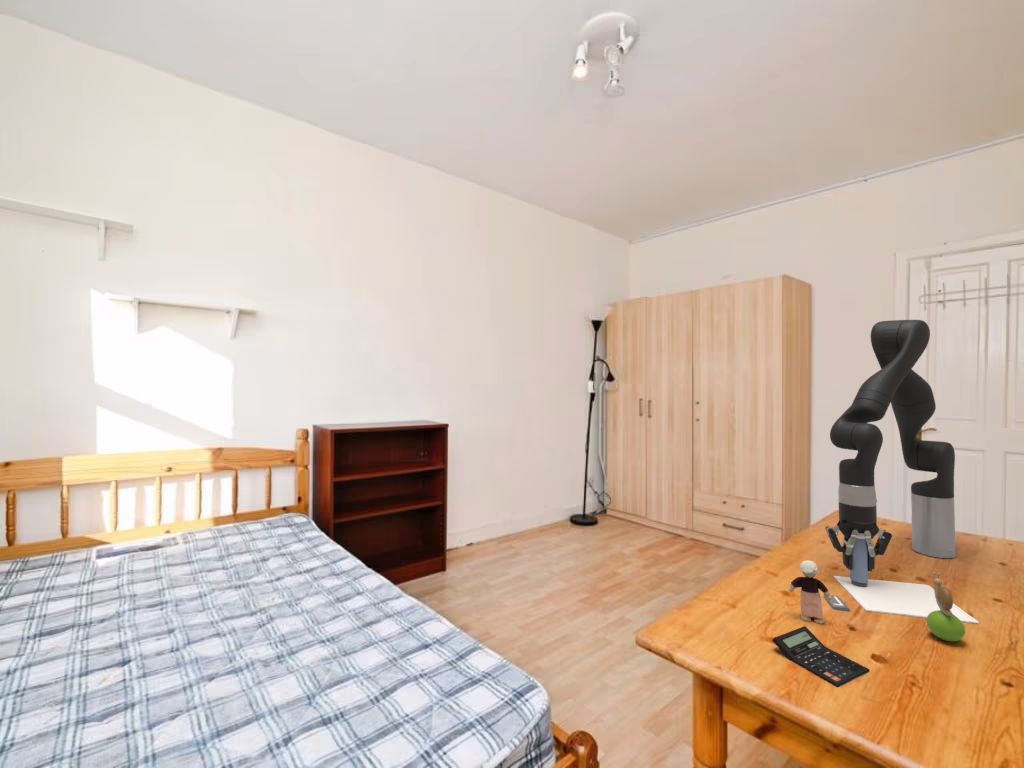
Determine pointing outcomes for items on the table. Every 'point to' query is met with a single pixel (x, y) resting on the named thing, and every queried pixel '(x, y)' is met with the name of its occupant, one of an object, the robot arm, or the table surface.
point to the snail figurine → (944, 615)
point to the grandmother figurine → (810, 592)
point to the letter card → (837, 603)
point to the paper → (898, 598)
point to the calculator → (818, 657)
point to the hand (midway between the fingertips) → (858, 569)
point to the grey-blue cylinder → (859, 562)
